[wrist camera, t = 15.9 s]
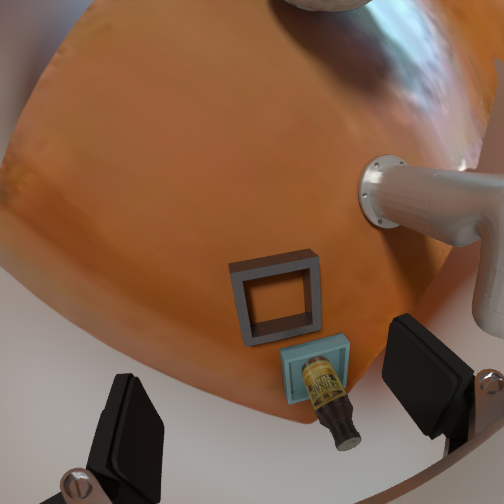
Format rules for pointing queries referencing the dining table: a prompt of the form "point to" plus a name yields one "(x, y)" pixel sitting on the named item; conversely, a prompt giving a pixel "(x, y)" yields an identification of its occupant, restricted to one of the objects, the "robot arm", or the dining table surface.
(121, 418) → the robot arm
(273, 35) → the dining table surface
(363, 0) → the ceramic pitcher
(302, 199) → the dining table surface
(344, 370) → the teal tray
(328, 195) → the dining table surface
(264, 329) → the steel collar
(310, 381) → the sauce bottle
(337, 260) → the dining table surface
